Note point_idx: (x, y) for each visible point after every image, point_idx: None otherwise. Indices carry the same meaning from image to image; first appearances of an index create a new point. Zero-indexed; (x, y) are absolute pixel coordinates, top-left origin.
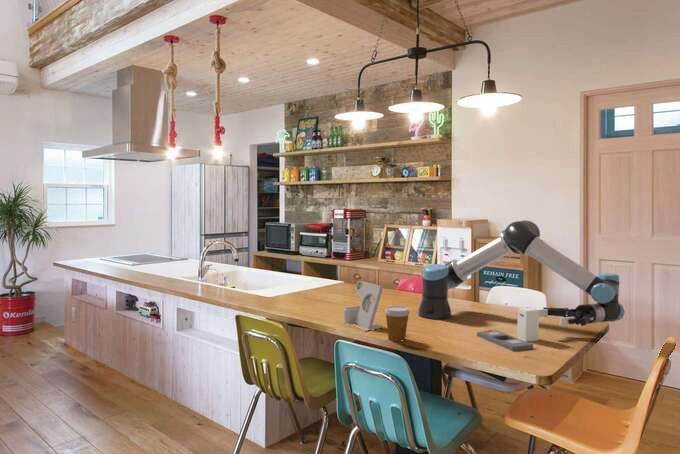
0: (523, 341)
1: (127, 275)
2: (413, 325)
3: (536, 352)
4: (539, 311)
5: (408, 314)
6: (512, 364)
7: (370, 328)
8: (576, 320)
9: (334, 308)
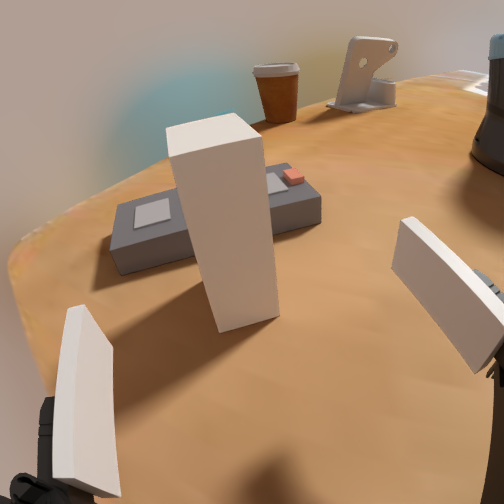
0: (148, 234)
1: (466, 72)
2: (395, 131)
3: (118, 287)
4: (431, 262)
5: (266, 76)
6: (77, 218)
7: (336, 105)
8: (42, 471)
9: (451, 103)
